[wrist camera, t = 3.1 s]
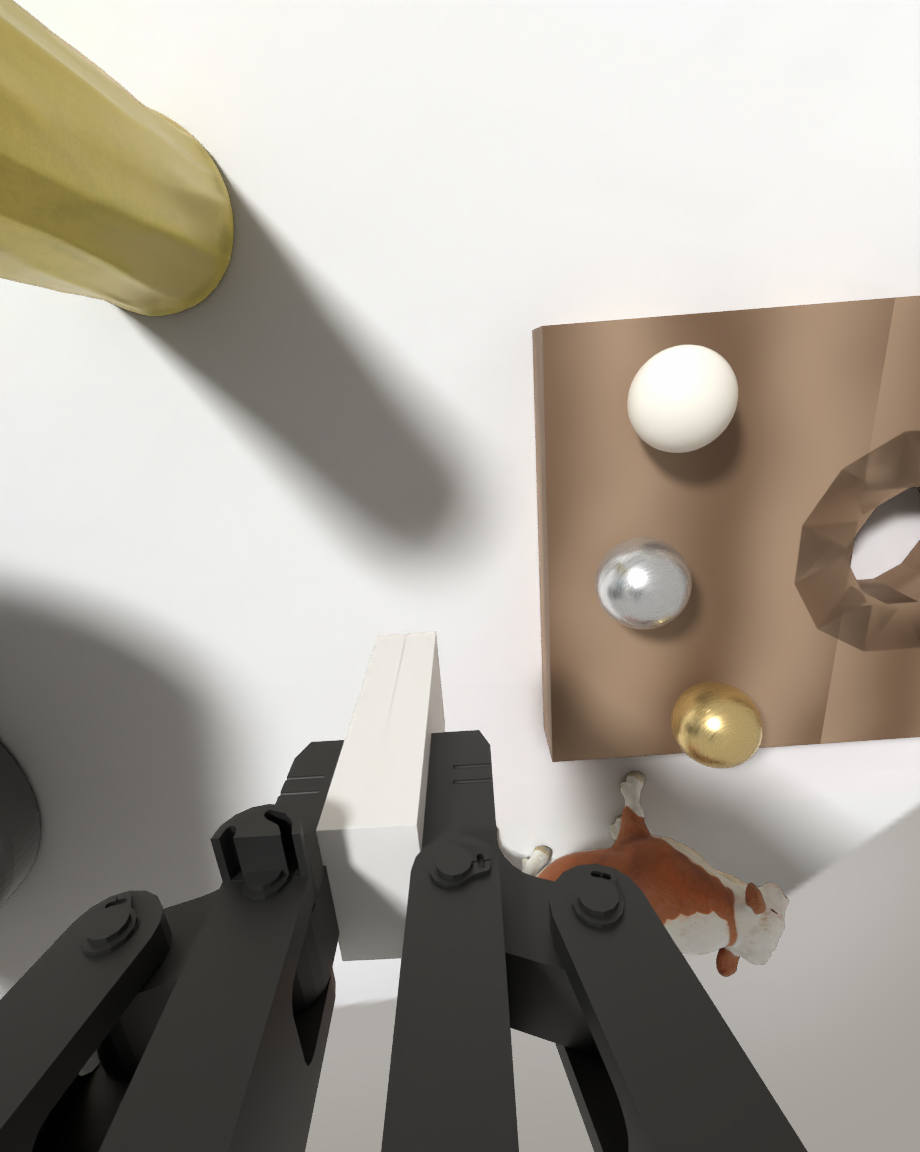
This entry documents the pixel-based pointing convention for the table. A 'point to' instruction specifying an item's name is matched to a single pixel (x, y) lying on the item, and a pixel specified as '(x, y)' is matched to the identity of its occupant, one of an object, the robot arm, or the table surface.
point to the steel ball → (643, 583)
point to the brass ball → (716, 725)
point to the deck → (732, 527)
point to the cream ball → (682, 398)
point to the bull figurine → (682, 889)
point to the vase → (101, 183)
